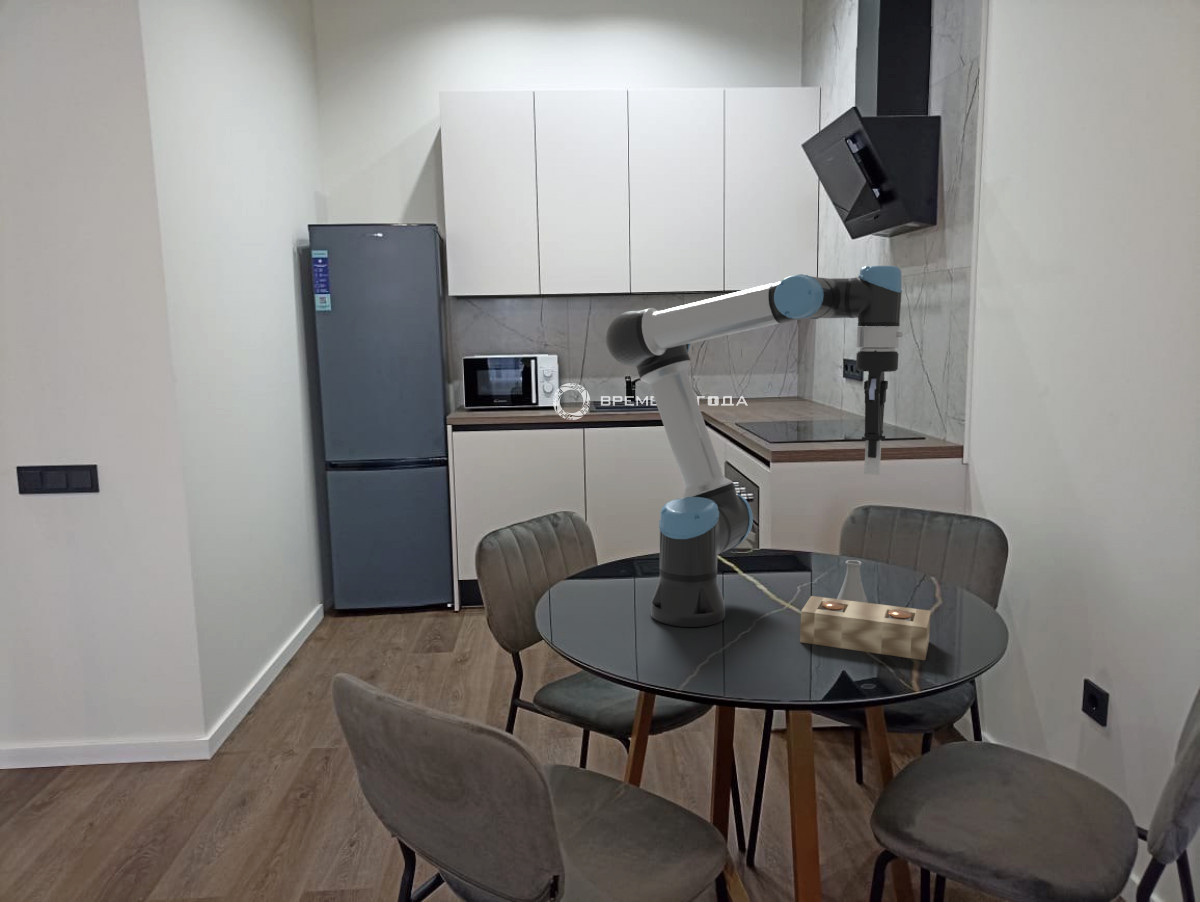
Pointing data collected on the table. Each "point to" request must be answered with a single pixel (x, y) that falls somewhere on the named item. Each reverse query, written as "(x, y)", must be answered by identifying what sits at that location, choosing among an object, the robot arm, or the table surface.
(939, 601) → the table surface
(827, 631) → the oak block
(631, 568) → the table surface
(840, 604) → the peg left
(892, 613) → the peg right
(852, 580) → the flask
